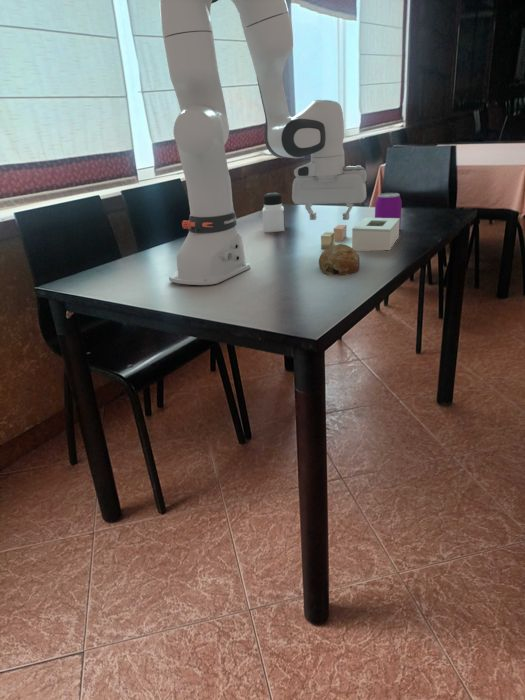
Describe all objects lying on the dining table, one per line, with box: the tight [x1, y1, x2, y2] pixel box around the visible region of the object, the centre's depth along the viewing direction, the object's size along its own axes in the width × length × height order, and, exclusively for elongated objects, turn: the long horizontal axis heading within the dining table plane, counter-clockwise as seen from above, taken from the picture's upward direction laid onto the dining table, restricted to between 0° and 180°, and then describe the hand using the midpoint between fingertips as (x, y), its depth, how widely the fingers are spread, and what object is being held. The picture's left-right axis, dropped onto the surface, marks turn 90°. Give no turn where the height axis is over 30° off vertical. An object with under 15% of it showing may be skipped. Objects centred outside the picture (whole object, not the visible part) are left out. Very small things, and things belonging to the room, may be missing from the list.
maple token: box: [320, 231, 336, 250], centre depth 140 cm, size 5×2×4 cm, turn 156°
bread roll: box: [318, 243, 360, 276], centre depth 119 cm, size 10×10×8 cm
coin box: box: [351, 217, 400, 252], centre depth 137 cm, size 14×10×7 cm
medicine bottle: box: [261, 192, 286, 234], centre depth 166 cm, size 7×7×12 cm
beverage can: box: [374, 192, 403, 231], centre depth 149 cm, size 8×8×12 cm
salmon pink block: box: [333, 224, 347, 242], centre depth 147 cm, size 5×2×4 cm, turn 156°
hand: (329, 219), depth 137 cm, fingers open, 8 cm apart
